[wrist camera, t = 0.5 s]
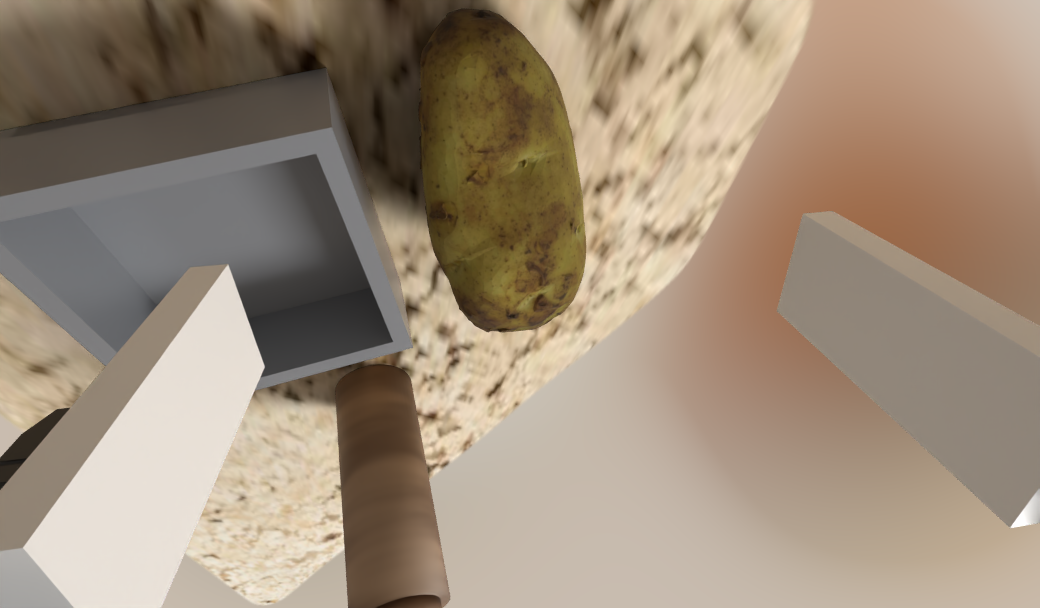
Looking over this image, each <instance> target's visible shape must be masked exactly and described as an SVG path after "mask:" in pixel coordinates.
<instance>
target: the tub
mask: <svg viewBox="0 0 1040 608" xmlns="http://www.w3.org/2000/svg"><path fill="white" fill-rule="evenodd" d="M224 264H228V265H229V268H230V271H231V274H232V276H233V279H234V282H235V285H236V288H237V290H238V293H239V296H240V299H241V302H242V305H243V307H244V310H245V313H246V316H247V319H248V321H249V324H250V327H251V330H252V333H253V335H254V338H255V341H256V344H257V347H258V349H259V352H260V355H261V358H262V361H263V363H264V366H265V368H264V370H263V372H262V375H261V377H260V379H259V381H258V384H257V386H256V388H255V390H259V389H263V388H266V387H270V386H274V385H277V384H281V383H285V382H288V381H292V380H296V379H299V378H303V377H307V376H310V375H314V374H318V373H321V372H325V371H329V370H332V369H336V368H340V367H343V366H347V365H351V364H354V363H358V362H362V361H365V360H369V359H373V358H376V357H380V356H384V355H387V354H391V353H395V352H398V351H402V350H406V349H409V348H413V345H412V339H411V334H410V329H409V324H408V319H407V314H406V309H405V304H404V299H403V293H402V288H401V283H400V279H399V277H398V274H397V271H396V268H395V265H394V262H393V259H392V256H391V253H390V250H389V248H388V245H387V242H386V239H385V236H384V233H383V230H382V227H381V224H380V222H379V219H378V216H377V213H376V210H375V207H374V204H373V201H372V198H371V196H370V193H369V190H368V187H367V184H366V181H365V178H364V175H363V172H362V170H361V167H360V164H359V161H358V158H357V155H356V152H355V149H354V146H353V143H352V141H351V138H350V135H349V132H348V129H347V126H346V123H345V120H344V117H343V115H342V112H341V109H340V106H339V103H338V100H337V97H336V94H335V91H334V89H333V86H332V83H331V80H330V77H329V74H328V71H327V68H322V69H317V70H312V71H307V72H302V73H296V74H291V75H286V76H281V77H276V78H271V79H265V80H260V81H255V82H250V83H245V84H240V85H234V86H229V87H224V88H219V89H214V90H209V91H203V92H198V93H193V94H188V95H183V96H178V97H172V98H167V99H162V100H157V101H152V102H147V103H142V104H136V105H131V106H126V107H121V108H116V109H111V110H105V111H100V112H95V113H90V114H85V115H80V116H74V117H69V118H64V119H59V120H54V121H49V122H43V123H38V124H33V125H28V126H23V127H18V128H12V129H7V130H2V131H0V273H1V274H2V275H3V276H4V277H6V278H7V279H8V280H9V281H10V282H11V283H12V284H13V285H15V286H16V287H17V288H18V289H19V290H20V291H21V292H22V293H24V294H25V295H26V296H27V297H28V298H29V299H30V300H32V301H33V302H34V303H35V304H36V305H37V306H38V307H39V308H41V309H42V310H43V311H44V312H45V313H46V314H47V315H48V316H50V317H51V318H52V319H53V320H54V321H55V322H56V323H57V324H59V325H60V326H61V327H62V328H63V329H64V330H65V331H66V332H68V333H69V334H70V335H71V336H72V337H73V338H74V339H75V340H77V341H78V342H79V343H80V344H81V345H82V346H83V347H84V348H86V349H87V350H88V351H89V352H90V353H91V354H92V355H93V356H95V357H96V358H97V359H98V360H99V361H100V362H101V363H102V364H104V365H105V366H106V365H107V364H108V363H109V362H110V361H111V360H112V358H113V357H114V356H115V355H116V354H117V352H118V351H119V350H120V349H121V348H122V347H123V345H124V344H125V343H126V342H127V341H128V340H129V338H130V337H131V336H132V335H133V334H134V333H135V331H136V330H137V329H138V328H139V327H140V325H141V324H142V323H143V322H144V321H145V320H146V318H147V317H148V316H149V315H150V314H151V313H152V311H153V310H154V309H155V308H156V307H157V305H158V304H159V303H160V302H161V301H162V300H163V298H164V297H165V296H166V295H167V294H168V293H169V291H170V290H171V289H172V288H173V287H174V285H175V284H176V283H177V282H178V281H179V280H180V278H181V277H182V276H183V275H184V274H185V273H186V271H187V270H188V269H189V268H190V267H201V266H212V265H224Z"/></svg>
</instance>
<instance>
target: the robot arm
mask: <svg viewBox="0 0 1040 608" xmlns="http://www.w3.org/2000/svg"><path fill="white" fill-rule="evenodd" d="M777 312H779V313H780V314H781V315H782V316H783V317H784V318H785V319H786V320H787V321H788V322H789V323H790V324H791V325H792V326H794V327H795V328H796V329H797V330H798V331H799V332H800V333H801V334H802V335H803V336H804V337H805V338H806V339H808V340H809V341H810V342H811V343H812V344H813V345H814V346H815V347H816V348H817V349H818V350H819V351H820V352H821V353H823V354H824V355H825V356H826V357H827V358H828V359H829V360H830V361H831V362H832V363H833V364H834V365H835V366H837V367H838V368H839V369H840V370H841V371H842V372H843V373H844V374H845V375H846V376H848V378H849V379H850V380H852V381H853V382H854V383H855V384H856V385H857V386H858V387H859V388H860V389H861V390H862V391H864V393H866V394H867V395H868V396H869V397H870V398H871V399H872V400H873V401H874V402H875V403H876V404H877V405H879V406H880V407H881V408H882V409H883V410H884V411H885V412H886V413H887V414H888V415H889V416H890V417H891V418H892V419H894V420H895V421H896V422H897V423H898V424H899V425H900V426H901V427H902V428H903V429H904V430H905V431H907V433H909V434H910V435H911V436H912V437H913V438H914V439H915V440H916V441H917V442H918V443H919V444H920V445H921V446H923V447H924V448H925V449H926V450H927V451H928V452H929V453H930V454H931V455H932V456H933V457H934V458H935V459H937V460H938V461H939V462H940V463H941V464H942V465H943V466H944V467H945V468H946V469H947V470H948V471H949V472H951V473H952V474H953V475H954V476H955V477H956V478H957V479H958V480H959V481H960V482H961V483H962V484H963V485H964V486H966V487H967V488H968V489H969V490H970V491H971V492H972V493H973V494H974V495H975V496H976V497H978V498H979V499H980V500H981V501H982V502H983V503H984V504H985V505H986V506H987V507H988V508H989V509H990V510H991V511H992V512H994V513H995V514H996V515H997V516H998V517H999V518H1000V519H1001V520H1002V521H1003V522H1004V523H1006V525H1008V526H1009V527H1010V528H1012V527H1018V526H1024V525H1030V524H1036V523H1040V326H1038V325H1037V324H1035V323H1033V322H1031V321H1029V320H1028V319H1026V318H1024V317H1022V316H1020V315H1019V314H1017V313H1015V312H1013V311H1011V310H1010V309H1008V308H1006V307H1004V306H1002V305H1000V304H999V303H997V302H995V301H993V300H992V299H990V298H988V297H986V296H984V295H983V294H981V293H979V292H977V291H975V290H974V289H972V288H970V287H968V286H966V285H964V284H963V283H961V282H959V281H957V280H955V279H954V278H952V277H950V276H948V275H946V274H945V273H943V272H941V271H939V270H937V269H936V268H934V267H932V266H930V265H928V264H927V263H925V262H923V261H921V260H919V259H918V258H916V257H914V256H912V255H910V254H909V253H907V252H905V251H903V250H901V249H900V248H898V247H896V246H894V245H892V244H890V243H889V242H887V241H885V240H883V239H882V238H880V237H878V236H876V235H874V234H873V233H871V232H869V231H867V230H865V229H864V228H861V227H860V226H858V225H856V224H854V223H853V222H851V221H849V220H847V219H845V218H844V217H842V216H840V215H838V214H837V213H834V212H833V211H830V212H818V213H806V214H803V216H802V219H801V223H800V227H799V231H798V234H797V238H796V242H795V246H794V249H793V253H792V257H791V260H790V264H789V268H788V271H787V276H786V279H785V283H784V286H783V290H782V294H781V297H780V301H779V305H778V309H777ZM264 368H265V366H264V363H263V361H262V358H261V355H260V352H259V349H258V347H257V344H256V341H255V338H254V335H253V333H252V330H251V327H250V324H249V321H248V319H247V316H246V313H245V310H244V307H243V305H242V302H241V299H240V296H239V293H238V290H237V288H236V285H235V282H234V279H233V276H232V274H231V271H230V268H229V265H228V264H224V265H212V266H201V267H190V268H189V269H188V270H187V271H186V273H185V274H184V275H183V276H182V277H181V278H180V280H179V281H178V282H177V283H176V284H175V285H174V287H173V288H172V289H171V290H170V291H169V293H168V294H167V295H166V296H165V297H164V298H163V300H162V301H161V302H160V303H159V304H158V305H157V307H156V308H155V309H154V310H153V311H152V313H151V314H150V315H149V316H148V317H147V318H146V320H145V321H144V322H143V323H142V324H141V325H140V327H139V328H138V329H137V330H136V331H135V333H134V334H133V335H132V336H131V337H130V338H129V340H128V341H127V342H126V343H125V344H124V345H123V347H122V348H121V349H120V350H119V351H118V352H117V354H116V355H115V356H114V357H113V358H112V360H111V361H110V362H109V363H108V364H107V365H106V367H105V368H104V369H103V370H102V371H101V372H100V374H99V375H98V376H97V377H96V378H95V380H94V381H93V382H92V383H91V384H90V385H89V387H88V388H87V389H86V390H85V391H84V392H83V394H82V395H81V396H80V397H79V398H78V400H77V401H76V402H75V403H74V404H73V405H72V407H71V408H64V409H57V410H55V411H54V412H52V413H51V414H49V415H48V416H47V417H45V418H44V419H42V420H41V421H40V422H38V423H37V424H35V425H34V426H33V427H31V428H30V429H28V430H27V431H25V432H24V433H23V434H21V436H20V437H19V438H18V439H17V440H16V441H15V442H14V443H13V444H12V446H11V447H10V448H9V449H8V450H7V451H6V452H5V453H4V454H3V455H2V456H1V457H0V608H161V607H162V604H163V602H164V600H165V597H166V595H167V593H168V590H169V588H170V586H171V583H172V581H173V579H174V576H175V574H176V572H177V570H178V567H179V565H180V562H181V560H182V558H183V556H184V553H185V551H186V549H187V546H188V544H189V542H190V539H191V537H192V535H193V532H194V530H195V528H196V525H197V523H198V521H199V518H200V516H201V514H202V512H203V509H204V507H205V505H206V502H207V500H208V498H209V495H210V493H211V491H212V488H213V486H214V484H215V481H216V479H217V477H218V474H219V472H220V470H221V467H222V465H223V463H224V460H225V458H226V456H227V453H228V451H229V449H230V447H231V444H232V442H233V440H234V437H235V435H236V433H237V430H238V428H239V426H240V423H241V421H242V419H243V416H244V414H245V412H246V409H247V407H248V405H249V402H250V400H251V398H252V395H253V393H254V391H255V388H256V386H257V384H258V381H259V379H260V377H261V375H262V372H263V370H264Z"/></svg>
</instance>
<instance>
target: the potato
mask: <svg viewBox="0 0 1040 608" xmlns="http://www.w3.org/2000/svg"><path fill="white" fill-rule="evenodd" d="M420 65H421V72H420V79H421V88H420V89H419V90H420V91H421V92H420V103H419V109H418V110H419V121H420V122H421V136H420V138H419V140H420V156H421V158H420V169H421V170H422V173H423V187H424V195H425V203H426V206H425V209H426V214H427V223H428V228H429V234H430V238H431V242H432V246H433V250H434V253H435V256H436V258H437V259H438V261H439V263H440V265H441V267H442V269H443V271H444V273H445V275H446V276H447V278H448V280H449V282H450V285H451V288H452V291H453V294H454V296H455V299H456V301H457V304H458V305H459V309H460V310H461V311H462V312H463V313H464V315H465V316H466V317H467V318H468V320H469V321H471V322H472V323H473V324H474V325H475V326H476V327H478V328H480V329H482V330H484V331H486V332H490V331H499V332H514V331H522V330H533V329H535V328H538V327H541V326H542V325H544V324H546V323H548V322H549V321H551V320H552V319H553V318H554V317H556V316H558V315H560V314H561V313H563V312H564V311H565V310H566V309H567V307H568V306H569V305H570V304H571V302H572V301H573V300H574V298H575V295H576V293H577V291H578V288H579V286H580V283H581V280H582V277H583V273H584V267H585V259H586V236H585V225H584V214H583V196H582V190H581V184H580V178H579V172H578V167H577V160H576V155H575V148H574V143H573V136H572V131H571V128H570V125H569V120H568V116H567V111H566V108H565V104H564V101H563V97H562V94H561V91H560V88H559V86H558V83H557V81H556V79H555V76H554V74H553V72H552V71H551V69H550V68H549V66H548V65H547V63H546V62H545V61H544V59H543V58H542V57H541V56H540V54H539V53H538V52H537V51H536V50H535V48H534V47H533V46H532V45H531V43H530V42H529V41H528V40H527V39H526V37H525V36H524V35H523V34H522V33H521V32H520V31H519V30H518V29H516V28H515V27H514V26H513V25H512V24H511V23H509V22H508V21H507V20H506V19H504V18H503V17H502V16H500V15H499V14H496V13H494V12H491V11H485V10H472V9H460V10H457V11H454V12H450V13H448V14H447V15H446V18H445V19H444V20H443V21H442V22H441V23H440V24H439V25H438V27H437V28H436V30H435V31H434V32H433V34H432V35H431V37H430V39H429V41H428V43H427V45H426V46H425V47H424V48H423V49H422V54H421V59H420Z"/></svg>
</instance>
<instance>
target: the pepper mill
mask: <svg viewBox="0 0 1040 608" xmlns="http://www.w3.org/2000/svg"><path fill="white" fill-rule="evenodd" d="M335 395H336V412H337V429H338V445H339V462H340V479H341V495H342V512H343V529H344V545H345V561H346V578H347V595H348V608H443V607H444V606H445V605H446V604H447V603H448V602H449V600H450V592H449V587H448V581H447V576H446V571H445V566H444V559H443V554H442V548H441V543H440V537H439V532H438V526H437V521H436V515H435V511H434V504H433V499H432V494H431V488H430V482H429V477H428V471H427V466H426V460H425V455H424V449H423V444H422V438H421V433H420V427H419V422H418V416H417V411H416V405H415V400H414V394H413V389H412V383H411V379H410V377H409V375H408V374H407V373H406V372H405V371H403V370H401V369H399V368H397V367H394V366H388V365H373V366H367V367H363V368H360V369H357V370H354V371H352V372H351V373H349V374H347V375H346V376H345V377H343V378H342V379H341V380H340V381H339V383H338V384H337V387H336V390H335Z"/></svg>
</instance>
